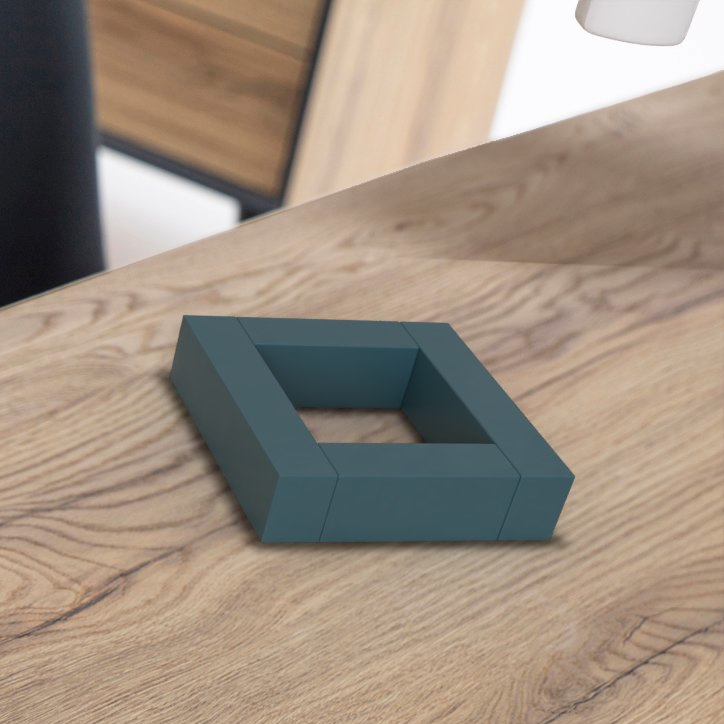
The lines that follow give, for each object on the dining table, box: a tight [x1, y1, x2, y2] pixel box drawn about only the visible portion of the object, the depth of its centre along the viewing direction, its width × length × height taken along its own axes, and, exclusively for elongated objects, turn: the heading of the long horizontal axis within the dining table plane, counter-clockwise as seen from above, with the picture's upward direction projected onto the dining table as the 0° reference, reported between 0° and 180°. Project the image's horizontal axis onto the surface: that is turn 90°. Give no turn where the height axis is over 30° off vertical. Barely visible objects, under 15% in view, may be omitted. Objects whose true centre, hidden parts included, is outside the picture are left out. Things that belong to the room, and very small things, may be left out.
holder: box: [169, 314, 576, 543], centre depth 74 cm, size 13×13×4 cm
